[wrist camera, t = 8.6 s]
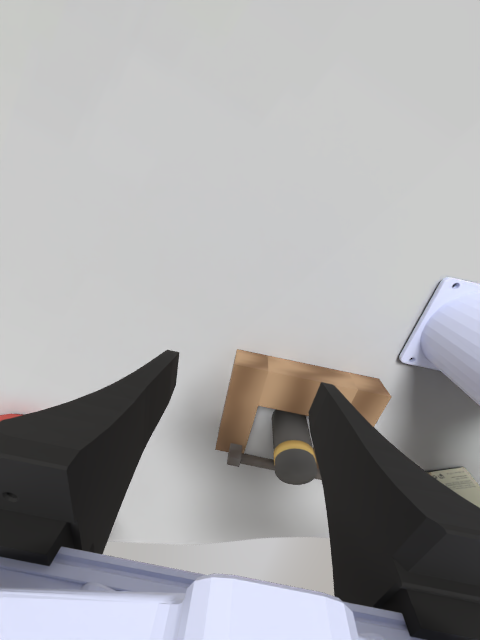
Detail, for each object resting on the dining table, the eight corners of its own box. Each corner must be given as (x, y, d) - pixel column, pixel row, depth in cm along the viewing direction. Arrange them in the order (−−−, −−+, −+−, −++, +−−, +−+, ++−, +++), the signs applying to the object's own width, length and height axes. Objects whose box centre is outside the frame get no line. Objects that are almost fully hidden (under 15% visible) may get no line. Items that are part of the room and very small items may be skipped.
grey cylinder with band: (313, 414, 26) (327, 468, 21) (292, 435, 28) (300, 490, 22) (284, 399, 26) (291, 450, 20) (264, 420, 27) (266, 473, 22)
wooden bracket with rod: (378, 379, 24) (400, 409, 20) (338, 454, 28) (349, 490, 25) (237, 349, 24) (232, 374, 20) (218, 430, 28) (212, 462, 25)
